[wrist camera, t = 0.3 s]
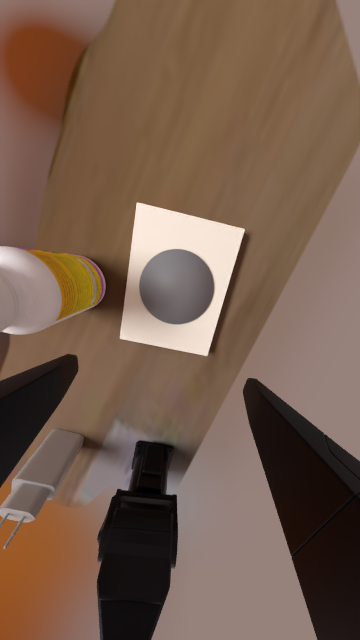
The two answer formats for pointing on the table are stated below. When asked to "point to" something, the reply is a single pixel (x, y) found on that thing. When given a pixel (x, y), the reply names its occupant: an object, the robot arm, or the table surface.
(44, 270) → the supplement bottle
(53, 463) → the power adapter
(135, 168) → the table surface
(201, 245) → the base
